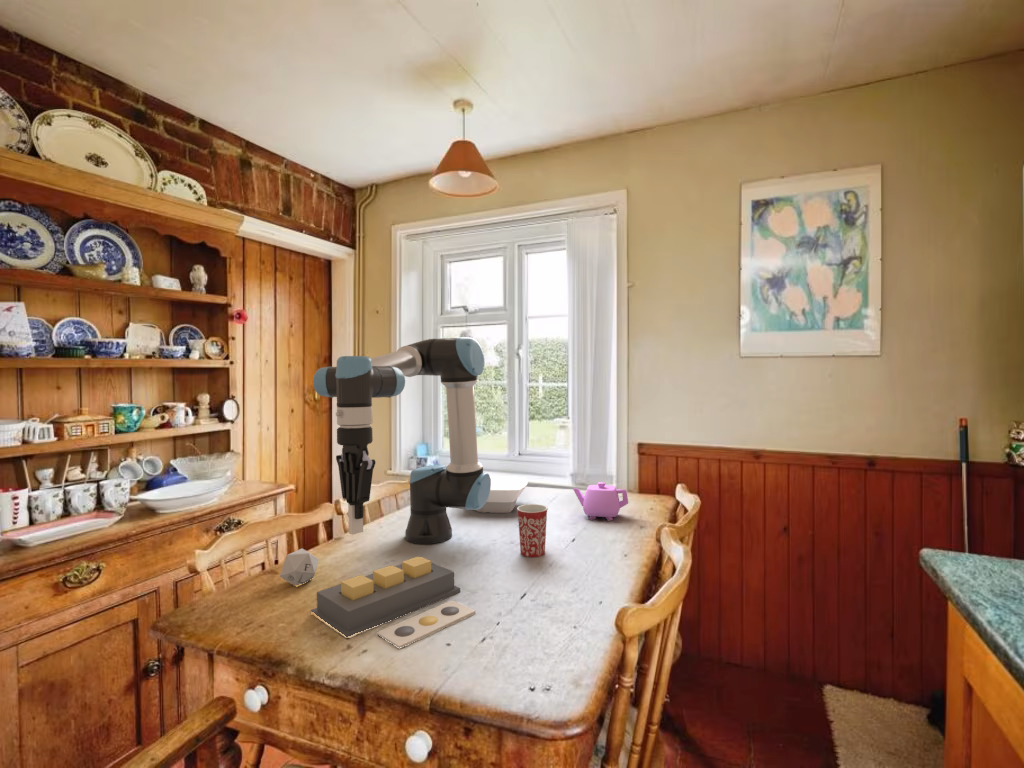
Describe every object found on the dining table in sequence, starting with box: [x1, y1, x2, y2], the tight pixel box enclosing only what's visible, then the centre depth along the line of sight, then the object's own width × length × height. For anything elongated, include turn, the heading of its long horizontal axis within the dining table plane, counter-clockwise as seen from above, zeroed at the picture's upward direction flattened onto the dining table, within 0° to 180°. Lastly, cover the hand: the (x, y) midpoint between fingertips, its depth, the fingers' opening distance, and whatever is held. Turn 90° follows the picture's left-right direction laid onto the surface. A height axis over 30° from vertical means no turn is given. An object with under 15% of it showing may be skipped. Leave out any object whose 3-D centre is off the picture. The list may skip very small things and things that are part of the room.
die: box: [279, 548, 320, 586], centre depth 131 cm, size 8×9×10 cm
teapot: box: [573, 481, 629, 521], centre depth 188 cm, size 20×12×13 cm, turn 75°
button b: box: [372, 564, 404, 589], centre depth 119 cm, size 5×5×4 cm
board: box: [310, 562, 461, 637], centre depth 119 cm, size 16×30×5 cm, turn 137°
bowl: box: [476, 476, 528, 514], centre depth 202 cm, size 24×25×10 cm
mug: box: [516, 503, 549, 558], centre depth 152 cm, size 13×9×14 cm
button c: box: [401, 556, 432, 578], centre depth 124 cm, size 5×5×4 cm
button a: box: [340, 574, 374, 601], centre depth 113 cm, size 5×5×4 cm
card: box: [376, 599, 477, 648], centre depth 108 cm, size 8×20×1 cm, turn 137°
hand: (356, 532), depth 112 cm, fingers closed
